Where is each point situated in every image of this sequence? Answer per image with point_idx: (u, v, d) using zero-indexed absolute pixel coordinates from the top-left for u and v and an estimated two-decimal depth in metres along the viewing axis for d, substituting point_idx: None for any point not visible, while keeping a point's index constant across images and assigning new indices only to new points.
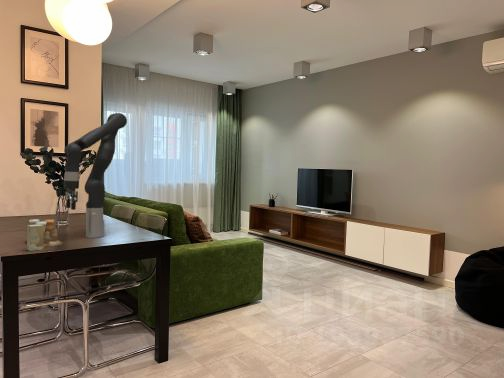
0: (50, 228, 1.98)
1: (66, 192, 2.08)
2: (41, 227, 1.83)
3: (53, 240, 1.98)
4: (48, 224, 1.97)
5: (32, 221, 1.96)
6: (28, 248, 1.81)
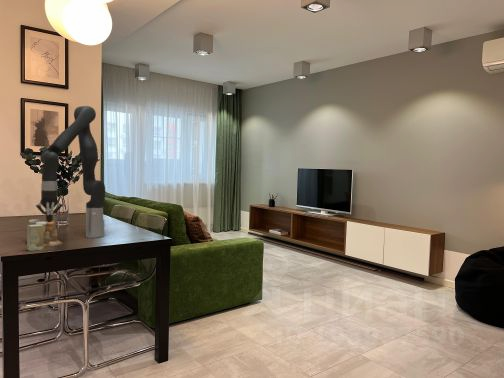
0: None
1: (46, 204, 1.95)
2: (41, 227, 1.83)
3: (53, 240, 1.98)
4: (48, 226, 1.97)
5: (32, 221, 1.96)
6: (28, 248, 1.81)
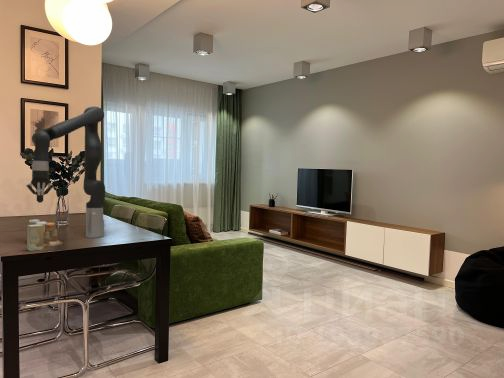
0: None
1: (37, 184, 1.94)
2: (41, 227, 1.83)
3: (53, 240, 1.98)
4: (48, 227, 1.97)
5: (32, 221, 1.96)
6: (28, 248, 1.81)
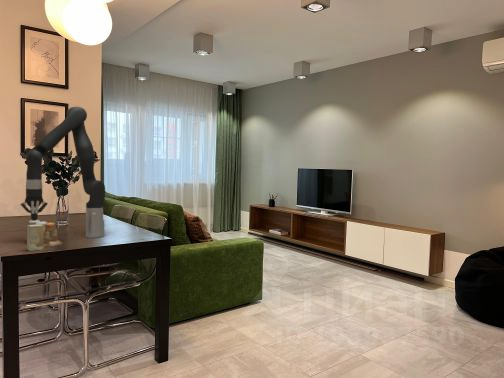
0: None
1: (31, 202, 1.95)
2: (41, 227, 1.83)
3: (53, 240, 1.98)
4: (48, 227, 1.97)
5: (32, 222, 1.96)
6: (28, 248, 1.81)
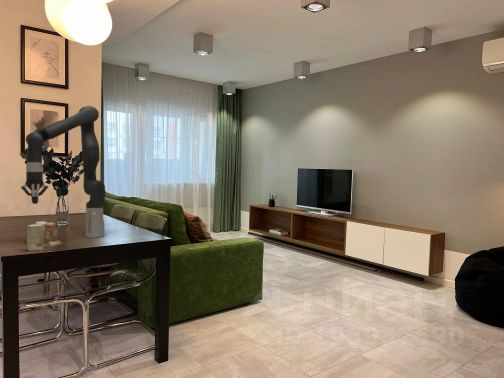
0: None
1: (31, 185, 1.94)
2: (41, 227, 1.83)
3: (53, 240, 1.98)
4: (48, 227, 1.97)
5: None
6: (28, 248, 1.81)
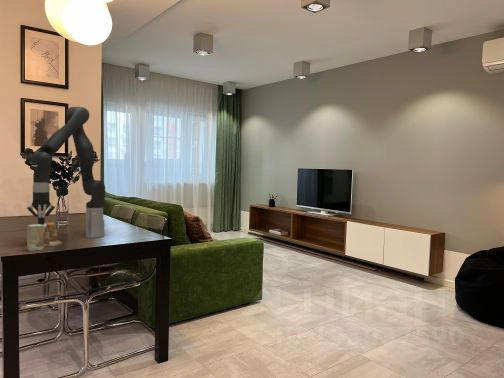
0: None
1: (38, 206, 1.89)
2: (41, 227, 1.83)
3: (53, 240, 1.98)
4: (48, 227, 1.97)
5: None
6: (28, 248, 1.81)
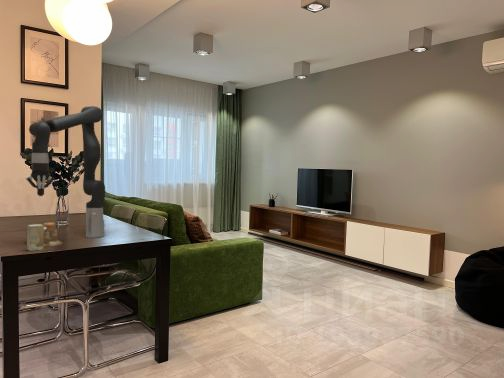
0: None
1: (37, 177, 1.87)
2: (41, 227, 1.83)
3: (53, 240, 1.98)
4: (48, 227, 1.97)
5: None
6: (28, 248, 1.81)
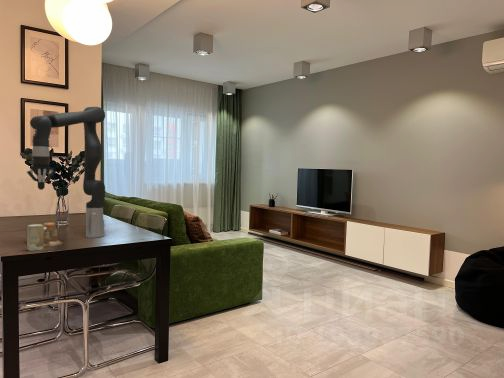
0: None
1: (38, 170, 1.87)
2: (41, 227, 1.83)
3: (53, 240, 1.98)
4: (48, 227, 1.97)
5: None
6: (28, 248, 1.81)
